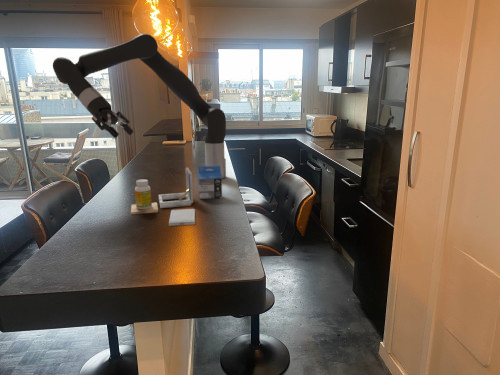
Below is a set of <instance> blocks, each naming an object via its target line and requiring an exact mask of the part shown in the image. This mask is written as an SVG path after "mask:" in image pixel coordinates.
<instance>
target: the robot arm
mask: <svg viewBox="0 0 500 375" xmlns="http://www.w3.org/2000/svg"><path fill="white" fill-rule="evenodd" d="M137 59H139V60H140V61H141V62H142V63H144V64H145V65H146V66H147V67H148V68H149V69H151V71H152V72H154V73H155V74H156V75H157V77H158V78H159V79H160V80H161V81H162V82H163V83H164V84H165V86H167V88H168V89H169V90H170V91H171V92H172V93H173V94H175V96H176V97H177V98H178V99H180V100H181V101H182V102H183V103H184V104H185V105H187V107H188V108H190V109H191V110H192V112H193V113H194V114H195V115H196V116H197V117H198V119H199V120H200V121H201V122H202V124H203V125H205V127H207V132H206V133H207V134H206V135H205V136H204V155H205V157H204V158H205V166H220V170H221V178H222V179H227V167H226V166H227V164H226V161H227V160H226V158H225V138H226V136H227V135H226V134H227V129H226V128H227V119H226V113H225V112H224V111H223V110H222V108H221V109H220V108H217V107H212V106H211V105H210V104H208V103H207V101H205V100H204V99H203V98H202V96H201V95H200V92H199V90H198V89H197V87H196V85H195V83H194V82H193V81H192V80H191V79H190V78H189V77H188V76H187V74H186V73H185V72H183V71H182V70H181V69H179V68H178V67H177V66H175V65H174V64H173V63H171V62H170V61H169V60H167V58H165V57H164V56H163V55H162V54H161V52H159V51H158V42H157V40H156V38H155V37H153V36H152V35H151V34H148V33H139V34H138V35H136V36H134V37H133V38H132V39H131V40H129V41H126V42H124V43H121V44H118V45H115V46H111V47H106V48H103V49H99V50H98V49H97V50H96V51H92V52H89V53H84V54H82V55H80V56H79V57H78V61H77V62H75V63H74V62H73V61H72V60H70V59H69V58H67V57H63V56H62V57H61V56H59V57H56V58H54V61H53V62H52V68H53V72H54V74H55V77H56V78H57V80H58V81H59V82H60V83H61V84H63V85H67V86H68V87H69V89H70V91H71V93H72V94H73V95H74V96H75V97H76V98H77V99H78V101H79V102H80V103H81V104H82V106H83V107H84V108H85V109H86V110H87V111H88V112H89V113H90V115H92V117H91V120H92V121H93V122H94V124H95V125H96V126H97V127H98V128H99V129H100V130H101V131H104V130H105V131H107V132H108V133H109V134H110V135H111V136H112V137H113V139H116V138H117V139H118V137H119V135H120V133H119V132H118V131H117V130H116V129H115V127H114V126H116V127H120V128H122V129H123V131H125V133H126V134H128V136H132V135H133V134H134V130H133V128H131V126H130V125H129V123H130V120H129V119H128V118H127V117H126V116H125V115H124V114H123V113H122V112H121V111H119V110H118V111H117V112H115V111H113V110H112V105H111V104H110V103H109V101H108V100H107V99H106V98H105V97H104V96H103V95H102V94H101V93H100V92H99V91H98V90H97V89H96V88H94V86H93V85H92V84H91V83H90V82H89V81H88V80H87V79H86V77H88V76H90V75H92V74H95V73H97V72H101V71H104V70H106V69H109V68H112V67H114V66H117V65H120V64H121V63H125V62H129V61H132V60H133V61H134V60H137ZM112 125H114V126H112ZM206 171H213V169H210V168H209V169H206Z"/></svg>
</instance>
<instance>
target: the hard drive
mask: <svg viewBox="0 0 500 375" xmlns="http://www.w3.org/2000/svg"><path fill="white" fill-rule="evenodd" d="M195 224H196V209H195V208H185V209H171V211H170V214H169V221H168V227H171V226H174V227H175V226H189V225H190V226H191V225H195Z"/></svg>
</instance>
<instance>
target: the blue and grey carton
mask: <svg viewBox="0 0 500 375" xmlns="http://www.w3.org/2000/svg"><path fill="white" fill-rule="evenodd" d="M209 168H210V169H213V171H206V169H209ZM197 176H198V196H199V197H198V198H199V200H207V199H208V200H210V199H223V191H222V190H223V185H222V183H223V182H222V178H221V170H220V166H206V165H205V166H198V175H197Z"/></svg>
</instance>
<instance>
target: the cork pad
mask: <svg viewBox="0 0 500 375" xmlns="http://www.w3.org/2000/svg"><path fill="white" fill-rule="evenodd" d="M130 206H131V207H130V208H131V209H130V215H142V214H151V213H152V214H153V213H158V212H159V207H158V203H157V201H156V202H152V206H151V207H150V208H148V209H138V208H136V203H135V204H133V203H132V204H130Z"/></svg>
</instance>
